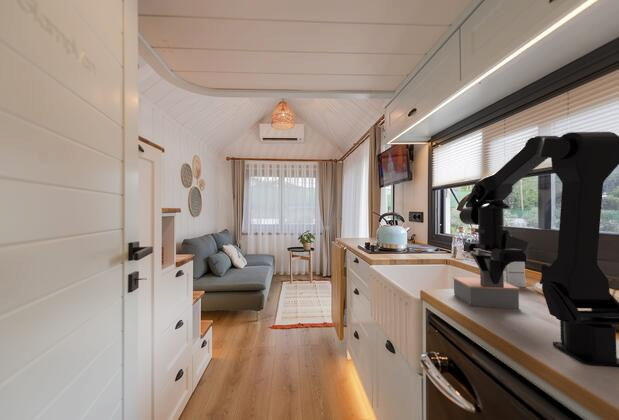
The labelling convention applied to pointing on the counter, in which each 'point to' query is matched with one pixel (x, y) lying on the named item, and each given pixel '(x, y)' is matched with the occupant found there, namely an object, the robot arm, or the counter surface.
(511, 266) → the syrup box
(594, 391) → the counter surface
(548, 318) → the counter surface
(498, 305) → the grey open tray
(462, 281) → the lid
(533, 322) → the counter surface
